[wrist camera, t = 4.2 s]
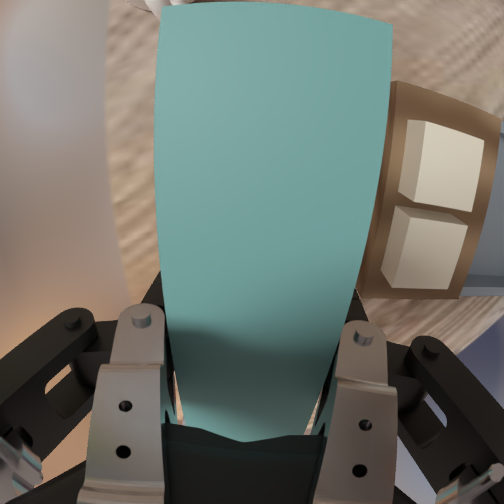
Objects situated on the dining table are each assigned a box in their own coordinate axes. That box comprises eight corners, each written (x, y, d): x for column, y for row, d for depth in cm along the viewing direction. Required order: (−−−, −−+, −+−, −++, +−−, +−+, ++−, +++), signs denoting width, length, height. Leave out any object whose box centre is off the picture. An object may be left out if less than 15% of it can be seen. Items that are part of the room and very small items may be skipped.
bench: (378, 84, 18) (396, 80, 15) (476, 115, 18) (501, 119, 15) (350, 275, 25) (360, 297, 22) (441, 279, 25) (458, 299, 22)
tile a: (407, 119, 16) (425, 121, 14) (463, 136, 16) (484, 140, 14) (397, 191, 18) (413, 201, 16) (453, 201, 18) (471, 211, 16)
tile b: (395, 205, 19) (410, 217, 16) (450, 213, 19) (468, 225, 16) (380, 269, 21) (391, 287, 18) (433, 272, 21) (447, 289, 18)
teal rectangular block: (212, 53, 8) (161, 6, 4) (334, 62, 8) (392, 24, 4) (211, 391, 15) (197, 469, 11) (282, 397, 15) (283, 476, 11)
